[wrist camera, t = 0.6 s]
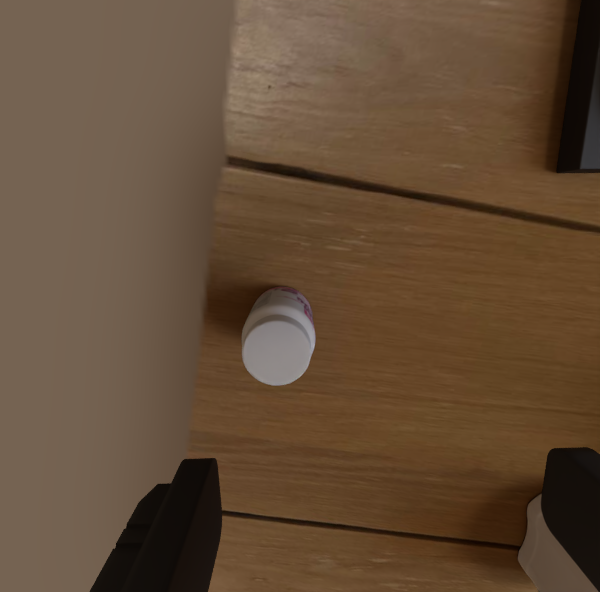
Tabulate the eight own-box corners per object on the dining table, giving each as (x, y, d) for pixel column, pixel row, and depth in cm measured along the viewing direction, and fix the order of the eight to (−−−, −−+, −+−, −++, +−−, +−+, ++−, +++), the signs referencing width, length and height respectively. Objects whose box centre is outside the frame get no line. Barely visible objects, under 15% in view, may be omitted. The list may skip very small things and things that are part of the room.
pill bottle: (324, 310, 28) (335, 350, 20) (286, 353, 29) (282, 408, 21) (278, 272, 27) (270, 297, 19) (240, 317, 28) (217, 359, 20)
